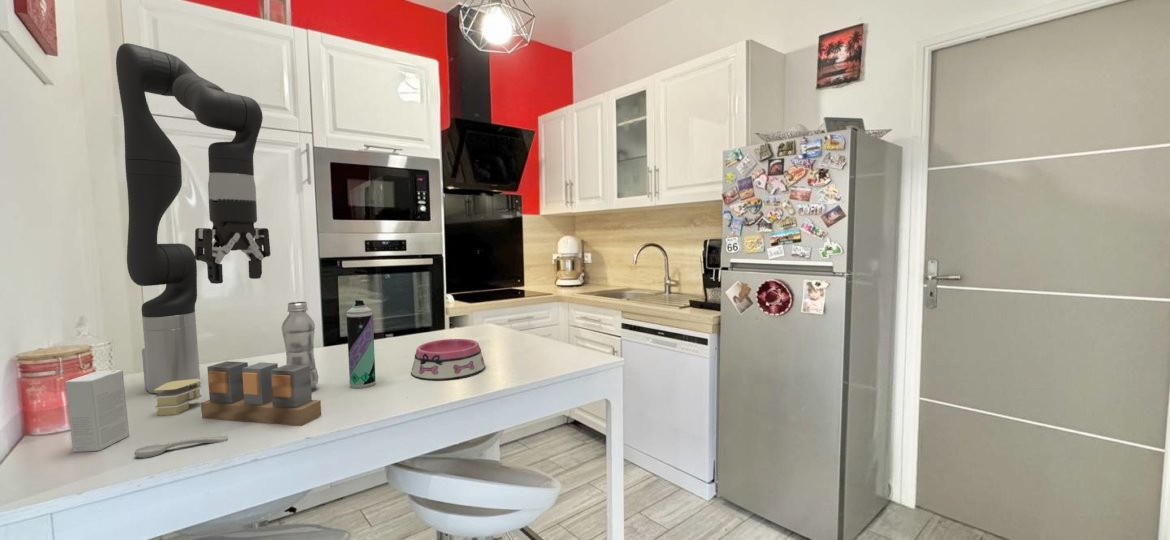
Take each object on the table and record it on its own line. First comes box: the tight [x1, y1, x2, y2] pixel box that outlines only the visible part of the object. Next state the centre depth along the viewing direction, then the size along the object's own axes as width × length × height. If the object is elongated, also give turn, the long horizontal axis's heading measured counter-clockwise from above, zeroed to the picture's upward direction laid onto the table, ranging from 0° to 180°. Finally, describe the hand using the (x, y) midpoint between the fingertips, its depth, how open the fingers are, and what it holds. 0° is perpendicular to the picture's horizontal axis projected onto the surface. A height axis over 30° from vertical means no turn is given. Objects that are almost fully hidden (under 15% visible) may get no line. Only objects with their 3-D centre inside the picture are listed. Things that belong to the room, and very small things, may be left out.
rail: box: [200, 360, 322, 427], centre depth 93 cm, size 22×5×10 cm, turn 80°
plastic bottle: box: [281, 301, 319, 390], centre depth 108 cm, size 6×7×20 cm
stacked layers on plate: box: [153, 378, 204, 416], centre depth 98 cm, size 10×9×6 cm
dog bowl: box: [410, 338, 486, 382], centre depth 124 cm, size 18×19×7 cm
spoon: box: [133, 435, 229, 459], centre depth 80 cm, size 3×12×2 cm, turn 124°
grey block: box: [242, 362, 279, 405], centre depth 93 cm, size 4×4×7 cm
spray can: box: [346, 299, 376, 389], centre depth 112 cm, size 6×6×20 cm
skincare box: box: [64, 369, 130, 453], centre depth 81 cm, size 6×4×12 cm
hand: (236, 280), depth 95 cm, fingers open, 8 cm apart
